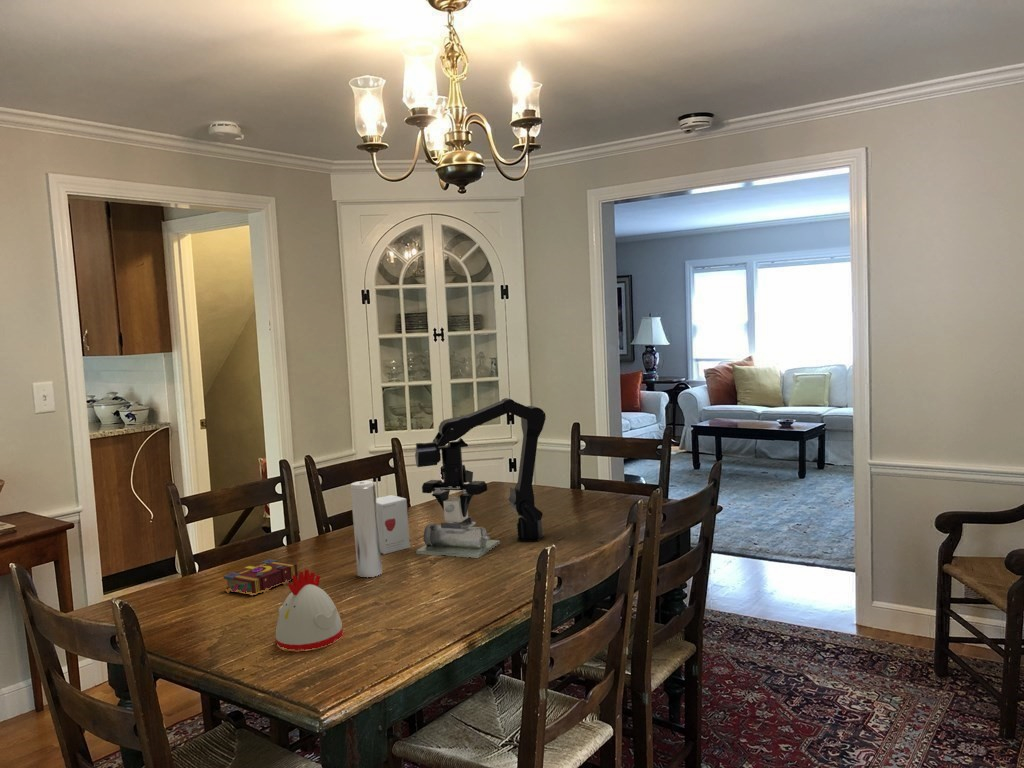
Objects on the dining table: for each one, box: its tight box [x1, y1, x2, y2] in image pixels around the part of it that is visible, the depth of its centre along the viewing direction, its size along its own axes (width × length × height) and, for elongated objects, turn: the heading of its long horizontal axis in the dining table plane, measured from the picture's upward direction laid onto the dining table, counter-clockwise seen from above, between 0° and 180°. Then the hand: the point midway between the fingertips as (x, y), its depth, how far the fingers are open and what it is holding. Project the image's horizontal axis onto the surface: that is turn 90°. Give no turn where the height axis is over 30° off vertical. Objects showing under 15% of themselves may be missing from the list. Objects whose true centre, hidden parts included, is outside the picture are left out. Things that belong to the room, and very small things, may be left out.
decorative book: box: [223, 558, 299, 593], centre depth 205 cm, size 11×16×5 cm
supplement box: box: [376, 494, 411, 555], centre depth 231 cm, size 9×9×15 cm
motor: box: [415, 516, 501, 559], centre depth 226 cm, size 20×14×8 cm
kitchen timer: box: [275, 568, 344, 650], centre depth 167 cm, size 14×14×15 cm
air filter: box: [350, 480, 383, 579], centre depth 208 cm, size 6×6×25 cm
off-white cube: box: [443, 496, 469, 523], centre depth 225 cm, size 5×7×6 cm
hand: (456, 516), depth 226 cm, fingers closed on off-white cube, 5 cm apart
